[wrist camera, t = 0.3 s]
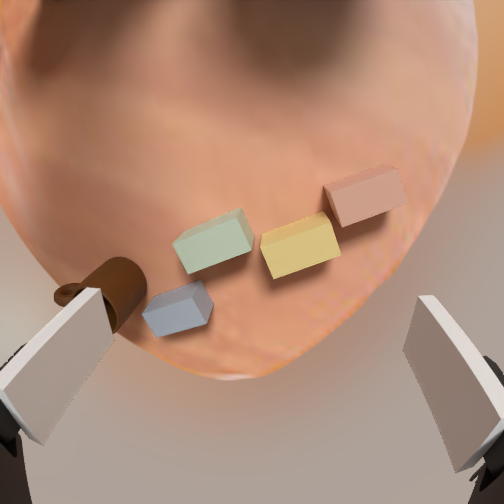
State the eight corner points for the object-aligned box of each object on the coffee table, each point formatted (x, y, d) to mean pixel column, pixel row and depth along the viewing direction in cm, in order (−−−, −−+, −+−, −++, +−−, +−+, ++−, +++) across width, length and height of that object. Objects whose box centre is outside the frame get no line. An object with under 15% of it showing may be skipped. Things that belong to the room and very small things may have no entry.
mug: (85, 293, 42) (53, 324, 34) (78, 249, 40) (40, 275, 31) (150, 304, 42) (124, 343, 33) (146, 257, 39) (114, 289, 30)
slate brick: (167, 318, 43) (156, 337, 38) (154, 296, 41) (141, 314, 37) (214, 303, 41) (206, 323, 36) (201, 279, 40) (191, 297, 35)
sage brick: (198, 257, 39) (188, 274, 34) (184, 230, 37) (172, 244, 33) (254, 235, 37) (251, 250, 32) (241, 206, 36) (236, 217, 31)
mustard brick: (273, 261, 38) (273, 279, 33) (262, 233, 37) (260, 247, 32) (333, 240, 36) (341, 255, 32) (323, 210, 35) (330, 221, 30)
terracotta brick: (333, 215, 35) (342, 227, 30) (322, 185, 34) (330, 192, 29) (391, 194, 34) (407, 203, 29) (382, 164, 32) (398, 168, 28)
